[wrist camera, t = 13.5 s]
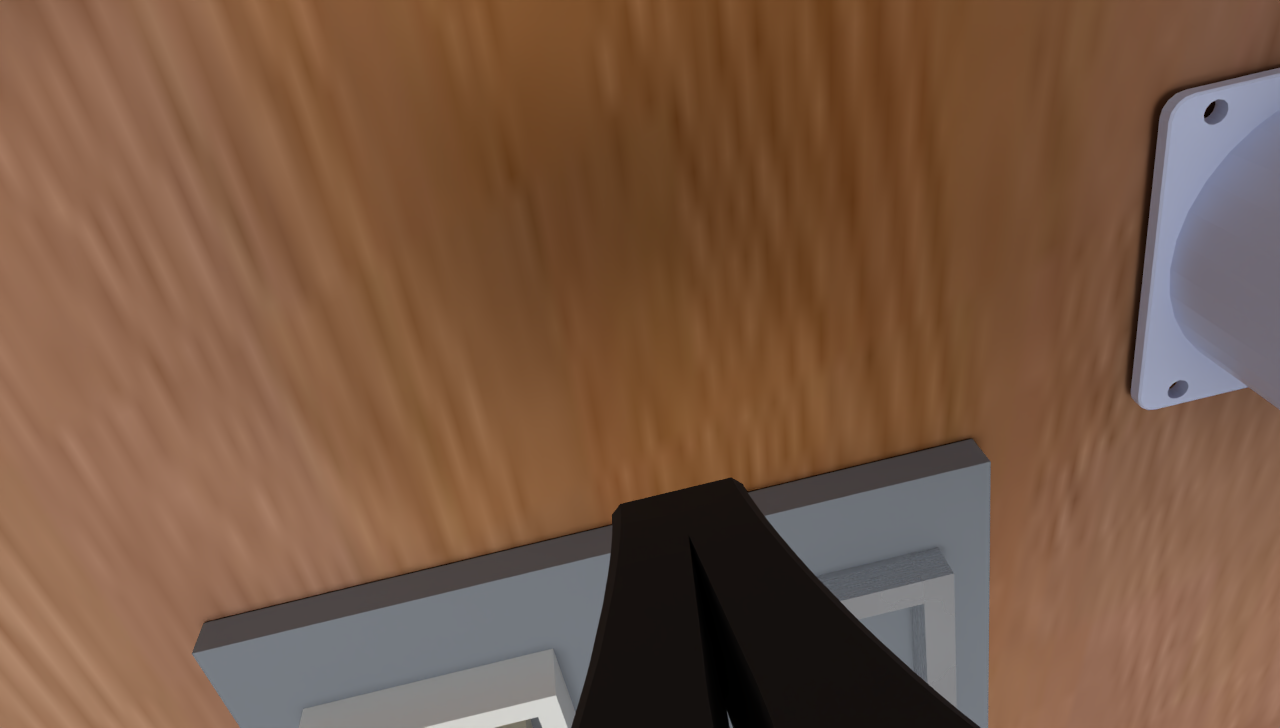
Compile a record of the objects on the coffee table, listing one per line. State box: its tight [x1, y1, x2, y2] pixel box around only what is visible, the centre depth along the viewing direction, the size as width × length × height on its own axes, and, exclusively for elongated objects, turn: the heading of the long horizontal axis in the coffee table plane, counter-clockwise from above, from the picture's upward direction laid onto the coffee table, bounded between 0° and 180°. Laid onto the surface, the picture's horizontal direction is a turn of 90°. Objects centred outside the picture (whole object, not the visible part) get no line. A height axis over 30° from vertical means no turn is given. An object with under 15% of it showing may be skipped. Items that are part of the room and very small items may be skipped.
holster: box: [816, 547, 957, 708], centre depth 25 cm, size 7×7×1 cm
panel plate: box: [192, 439, 991, 728], centre depth 26 cm, size 20×12×1 cm, turn 101°
